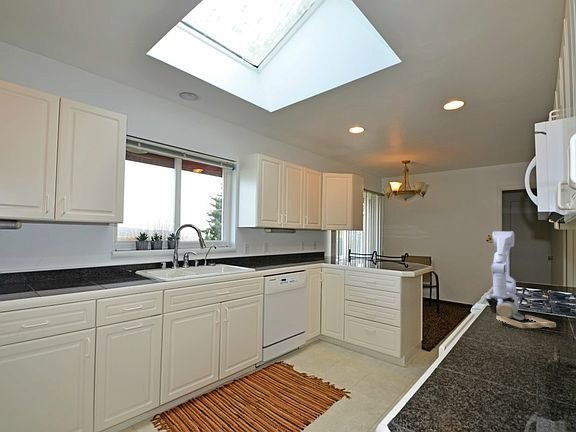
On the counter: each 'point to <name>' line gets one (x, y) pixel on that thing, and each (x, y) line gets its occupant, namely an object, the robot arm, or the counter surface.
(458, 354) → the counter surface
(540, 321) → the bent wooden beam
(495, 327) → the counter surface
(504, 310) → the ceramic mug
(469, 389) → the counter surface
